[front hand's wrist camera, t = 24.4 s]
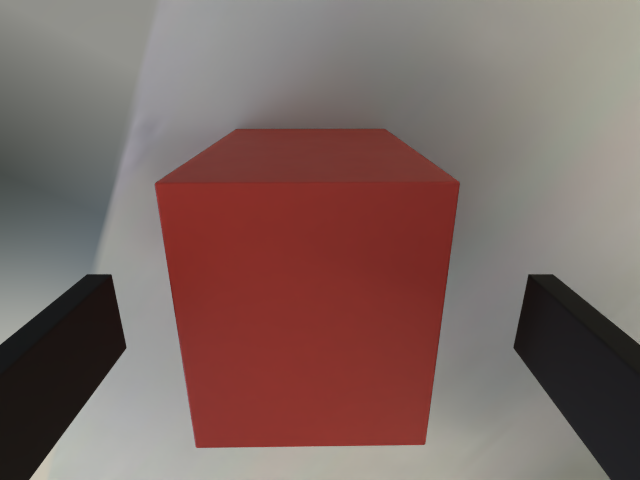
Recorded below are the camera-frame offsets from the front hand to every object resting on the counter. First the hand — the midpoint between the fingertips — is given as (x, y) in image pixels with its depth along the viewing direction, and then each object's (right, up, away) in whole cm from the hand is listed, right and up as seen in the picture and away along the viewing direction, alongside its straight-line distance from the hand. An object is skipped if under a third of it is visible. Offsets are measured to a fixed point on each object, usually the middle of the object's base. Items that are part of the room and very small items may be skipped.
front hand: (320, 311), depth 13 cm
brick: (0, +4, +9) cm, 10 cm away
